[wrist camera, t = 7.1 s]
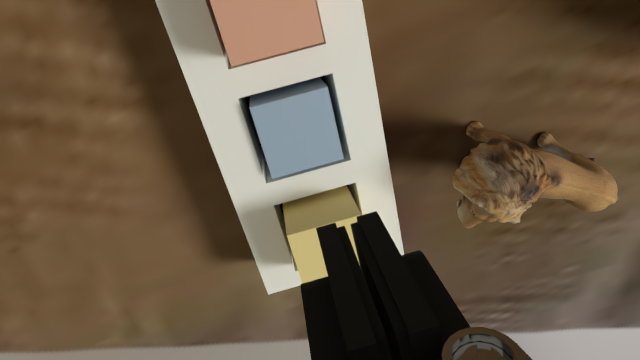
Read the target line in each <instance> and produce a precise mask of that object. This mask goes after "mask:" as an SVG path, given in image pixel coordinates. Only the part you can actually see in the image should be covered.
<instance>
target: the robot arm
mask: <svg viewBox="0 0 640 360" xmlns="http://www.w3.org/2000/svg"><path fill="white" fill-rule="evenodd" d="M351 229H352V234H353V238H354V242H355V246H356V251H357V255H358V259H359V262H358V260H357V257H356V254H355V252H354V249H353V246H352V244H351V241H350V239H349V236H348V233H347V231H346V228H345V226H341V227H338V228H337V226H336V223H332V224H328V225H325V226H321V227H318V228H316V230H317V234H318V238H319V242H320V246H321V250H322V254H323V258H324V262H325V266H326V270H327V274H328V276H327V277H324V278H320V279H317V280H313V281H310V282H306V283H302V284H301V293H302V299H303V306H304V313H305V320H306V326H307V333H308V340H309V345H310V346H309V347H310V353H311V360H532V359H531V358H530V357H529V356H528V355H527V354H526V353H525V352H524V351H523V350H522V349H521V348H520V347H519V346H518V344H517V343H515V342H514V341H513V340H512V339H510V338H509V337H508V336H506V335H505V334H502V333H500V332H498V331H496V330H493V329H489V328H484V327H470V326H469V324H468V323H467V321H466V320H465V318H464V316H463V315H462V313H461V312H460V310H459V309H458V307H457V305H456V304H455V302H454V301H453V299H452V298H451V296H450V295H449V293H448V291H447V290H446V288H445V287H444V285H443V284H442V282H441V281H440V279H439V277H438V276H437V274H436V273H435V271H434V270H433V268H432V267H431V265H430V263H429V262H428V260H427V259H426V257H425V256H424V254H423V253H422V252H421V251H415V252H412V253H408V254H405V255H401V254H400V252H399V250H398V249H397V247H396V245H395V243H394V241H393V240H392V238H391V236H390V234H389V232H388V231H387V229H386V227H385V225H384V223H383V222H382V220H381V218H380V216H379V214H378V213H377V211H375V212H371V213H368V214H364V215H361V216H357V222H356V223H352V224H351ZM359 264H360V265H359Z"/></svg>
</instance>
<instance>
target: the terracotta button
mask: <svg viewBox="0 0 640 360" xmlns="http://www.w3.org/2000/svg"><path fill="white" fill-rule="evenodd" d="M210 3H211V6H212V9H213V12H214V15H215V18H216V21H217V24H218V27H219V30H220V34H221V37H222V40H223V43H224V46H225V49H226V52H227V55H228V58H229V61H230V64H231V67H232V66H236V65H240V64H243V63H247V62H251V61H255V60H258V59H262V58H266V57H270V56H274V55H277V54H281V53H285V52H289V51H292V50H296V49H300V48H304V47H307V46H311V45H315V44H319V43H322V42H324V39H323V35H322V30H321V25H320V21H319V16H318V11H317V7H316V2H315V0H210Z"/></svg>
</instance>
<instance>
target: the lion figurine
mask: <svg viewBox="0 0 640 360" xmlns="http://www.w3.org/2000/svg"><path fill="white" fill-rule="evenodd" d="M466 134H467V135H468V136H470V137H472V138H473V139H474V140H476V141H482V142H485V143H480V144H479V145H478V147H476V148H472V149H470V154H469V156H466V157H464V159H463V160H462V162H461V163H462V164H461V165H460V167H459V168H458V169H456V171H455V174H454V175H453V186H454V188H455V189H457V190H458V191H460V192H461V193H462V194H463V197H462V198H461V199H460V200H459V201H458V202H457V207H458V208H459V209H458V211H457V214H458V217H459V219H460V220H461V221H462V225H463V226H464V227H465V228H471V227H473V226H475V225H476V224H478V223H480V222H493V221H496V220H498V222H501V223H505V222H511V223H519V222H520V216H521V214H522V213H523V212H524V211H526V210H527V209H528V208H529V207H531V206H532V203H533V202H535V201H536V200H537V199H538V198H539V197H543V198H557V199H563V200H564V201H566V202H567V203H569V204H571V205H573V206H575V207H577V208H579V209H582V210H585V211H593V212H594V211H600V210H603V209H605V208H606V207H607V206H608V205H610V204H613V203H615V202H616V201H617V191H618V188H617V184H616V182H615V180H614V178H613V177H612V176H611V175H610V174H609V173H608V172H607V171H606V170H605V169H604V168H602V167H601V166H599V165H598V164H596V163H595V160H596V159H595V158H585V157H583V156H581V155H578V154H575V153H572V152H570V151H569V150H568V149H566V148H565V147H563V146H562V145H560V144H559V143H558V142H557V141H556V140H555V139H554V138H553V137H552V135H551V134H549V133H547V132H545V133H542V134H541V135H540V136H539V138H538V140H537V144H538V145H539V146H540V147H542V148H545V149H547V150H550V151H552V152H553V153H555V154H556V155H555V154H553V153H550V152H547V151H543V150H537V149H531V148H529V147H528V146H527V145H526V144H524V143H522V142H519V141H516V140H513V139H510V138H508V137H507V136H505V135H502V134H499V133H496V132H494V131H490V130H487V129H486V128H485V127H483V125H482V124H481V123H479V122H477V121H475V122H473V123H471V124H470V125H469V126H468V127H467V131H466Z"/></svg>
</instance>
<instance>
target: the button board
mask: <svg viewBox="0 0 640 360" xmlns="http://www.w3.org/2000/svg"><path fill="white" fill-rule="evenodd" d="M155 2H156V4H157V7H158V9H159V12H160V15H161V17H162V20H163V22H164V25H165V28H166V30H167V33H168V35H169V38H170V40H171V43H172V46H173V48H174V51H175V53H176V56H177V59H178V61H179V64H180V66H181V69H182V72H183V74H184V77H185V79H186V82H187V85H188V87H189V90H190V92H191V95H192V98H193V100H194V103H195V105H196V108H197V111H198V113H199V116H200V118H201V121H202V123H203V126H204V129H205V131H206V134H207V136H208V139H209V142H210V144H211V147H212V149H213V152H214V155H215V157H216V160H217V162H218V165H219V168H220V170H221V173H222V175H223V178H224V181H225V183H226V186H227V188H228V191H229V194H230V196H231V199H232V201H233V204H234V207H235V209H236V212H237V214H238V217H239V219H240V222H241V225H242V227H243V230H244V232H245V235H246V238H247V240H248V243H249V245H250V248H251V251H252V253H253V256H254V258H255V261H256V264H257V266H258V269H259V271H260V274H261V277H262V279H263V282H264V284H265V287H266V290H267V292H268V294H272V293H275V292H279V291H282V290H286V289H289V288H292V287H296V286H299V285H301V284H302V281H301V278H300V275H299V272H298V269H297V266H296V262H295V259H294V256H293V253H292V250H291V247H290V244H289V241H288V238H287V234H286V226H285V221H284V218H283V215H282V211H281V208H280V205H279V204H281V203H285V202H288V201H292V200H295V199H299V198H302V197H306V196H310V195H313V194H317V193H320V192H324V191H327V190H331V189H335V188H338V187H342V186H345V185H349V188H350V193H351V195H352V197H353V199H354V201H355V203H356V205H357V207H358V209H359V211H360V213H361V215H364V214H368V213H371V212H375V211H377V213H378V214H379V216H380V218H381V220H382V222H383V223H384V225H385V227H386V229H387V231H388V232H389V234H390V236H391V238H392V240H393V241H394V243H395V245H396V247H397V249H398V250H399V252H400V254H401V255H404V251H403V245H402V239H401V233H400V227H399V221H398V215H397V209H396V203H395V197H394V191H393V185H392V179H391V173H390V167H389V161H388V155H387V149H386V143H385V137H384V131H383V125H382V119H381V113H380V107H379V101H378V95H377V88H376V82H375V76H374V70H373V64H372V58H371V52H370V46H369V40H368V34H367V28H366V22H365V16H364V10H363V4H362V0H315V2H316V7H317V11H318V16H319V21H320V25H321V30H322V35H323V39H324V42H322V43H319V44H315V45H311V46H307V47H304V48H300V49H296V50H292V51H289V52H285V53H281V54H277V55H274V56H270V57H266V58H262V59H258V60H255V61H251V62H247V63H243V64H240V65H236V66H232V67H231V64H230V61H229V58H228V55H227V52H226V49H225V46H224V43H223V40H222V37H221V34H220V30H219V27H218V24H217V21H216V18H215V15H214V12H213V9H212V6H211V3H210V0H155ZM320 76H324V77H325V81H326V85H327V86H328V90H329V94H330V99H331V103H332V108H333V112H334V117H335V121H336V126H337V130H338V135H339V139H340V144H341V148H342V153H343V157H344V159H342V160H338V161H335V162H331V163H328V164H324V165H320V166H317V167H313V168H310V169H306V170H302V171H299V172H295V173H292V174H288V175H284V176H281V177H277V178H274V179H272V177H271V173H270V170H269V167H268V164H267V161H266V159H264V156H263V153H262V150H261V147H260V143H259V140H258V137H257V134H256V131H255V128H254V125H253V122H252V119H251V116H250V113H249V110H248V106H247V103H246V100H245V97H246V96H250V95H254V94H257V93H261V92H265V91H268V90H272V89H276V88H280V87H283V86H287V85H291V84H294V83H298V82H302V81H306V80H309V79H313V78H317V77H320Z"/></svg>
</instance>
